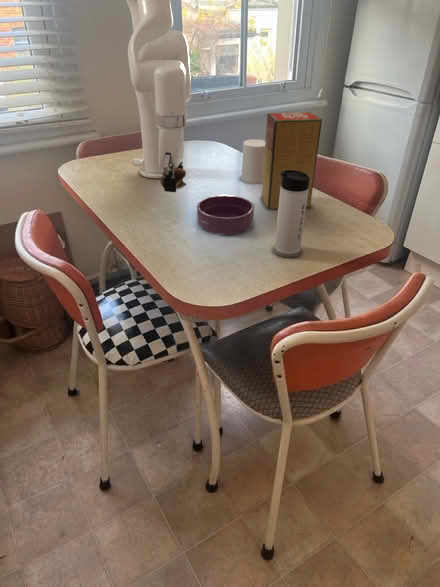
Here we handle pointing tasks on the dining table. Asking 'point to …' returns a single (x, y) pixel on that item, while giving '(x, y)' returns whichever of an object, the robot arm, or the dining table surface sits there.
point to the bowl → (225, 214)
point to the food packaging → (289, 151)
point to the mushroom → (177, 178)
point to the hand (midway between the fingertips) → (174, 184)
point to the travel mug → (291, 212)
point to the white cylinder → (253, 160)
